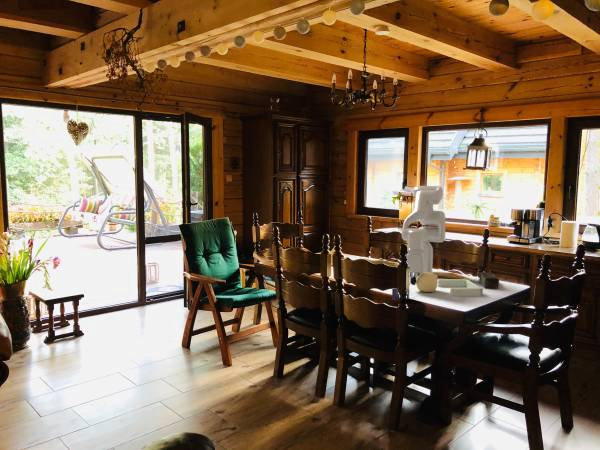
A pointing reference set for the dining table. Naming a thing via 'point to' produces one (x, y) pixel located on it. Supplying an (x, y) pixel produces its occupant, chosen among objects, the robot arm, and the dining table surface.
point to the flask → (397, 295)
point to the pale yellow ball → (427, 282)
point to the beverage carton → (489, 280)
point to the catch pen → (469, 291)
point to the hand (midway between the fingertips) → (413, 284)
